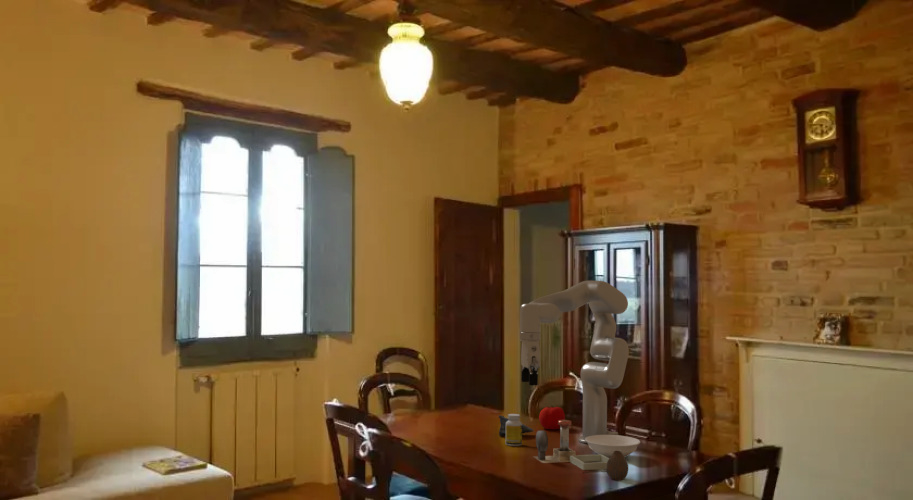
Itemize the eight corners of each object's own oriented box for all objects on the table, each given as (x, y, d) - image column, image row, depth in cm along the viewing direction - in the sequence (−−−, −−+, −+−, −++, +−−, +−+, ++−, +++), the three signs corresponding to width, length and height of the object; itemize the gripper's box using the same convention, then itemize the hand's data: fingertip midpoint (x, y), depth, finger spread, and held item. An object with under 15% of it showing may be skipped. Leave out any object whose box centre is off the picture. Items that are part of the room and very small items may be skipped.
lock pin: (567, 456, 280) (568, 419, 280) (572, 459, 275) (573, 422, 276) (555, 457, 278) (556, 420, 279) (560, 460, 274) (561, 422, 275)
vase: (604, 480, 252) (605, 452, 252) (608, 475, 258) (608, 448, 258) (626, 482, 249) (626, 454, 249) (629, 477, 256) (629, 450, 256)
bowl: (629, 466, 271) (629, 447, 271) (576, 458, 281) (576, 441, 282) (647, 456, 288) (647, 438, 288) (597, 449, 298) (597, 432, 298)
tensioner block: (569, 457, 283) (569, 427, 283) (580, 464, 273) (580, 432, 273) (532, 459, 279) (533, 428, 280) (542, 465, 270) (542, 433, 270)
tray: (601, 463, 275) (601, 454, 275) (616, 471, 263) (616, 462, 263) (569, 464, 272) (569, 455, 272) (583, 472, 260) (583, 463, 260)
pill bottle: (520, 447, 300) (521, 416, 300) (504, 446, 301) (504, 415, 302) (522, 443, 306) (523, 413, 307) (506, 442, 308) (506, 413, 308)
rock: (492, 433, 327) (492, 432, 317) (499, 414, 329) (499, 413, 319) (527, 447, 325) (528, 447, 315) (534, 428, 326) (535, 427, 317)
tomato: (571, 429, 337) (571, 405, 338) (549, 432, 330) (549, 408, 331) (554, 425, 347) (554, 402, 347) (532, 428, 339) (532, 404, 340)
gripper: (547, 338, 281) (546, 386, 280) (532, 335, 298) (532, 380, 297) (527, 338, 280) (526, 386, 279) (514, 335, 297) (513, 380, 296)
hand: (529, 383), depth 288 cm, fingers open, 9 cm apart
